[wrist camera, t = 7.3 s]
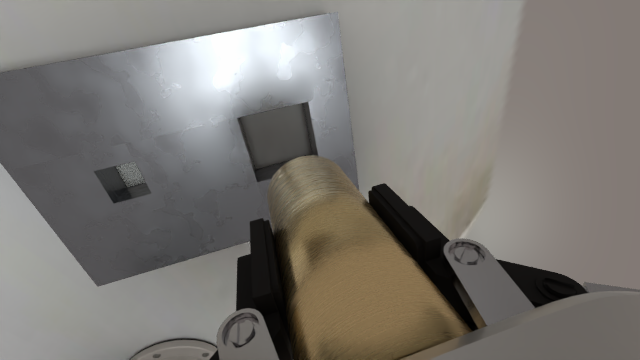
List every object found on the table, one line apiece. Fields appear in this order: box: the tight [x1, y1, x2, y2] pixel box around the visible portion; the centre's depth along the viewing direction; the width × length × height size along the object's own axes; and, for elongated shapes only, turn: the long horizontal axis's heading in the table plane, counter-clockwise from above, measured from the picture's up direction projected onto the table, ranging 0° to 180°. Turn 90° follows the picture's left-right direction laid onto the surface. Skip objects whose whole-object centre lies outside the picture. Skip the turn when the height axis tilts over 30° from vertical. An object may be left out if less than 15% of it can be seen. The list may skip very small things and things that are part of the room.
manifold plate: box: [0, 12, 359, 286], centre depth 24 cm, size 18×26×3 cm
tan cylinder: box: [267, 155, 473, 360], centre depth 10 cm, size 4×4×10 cm
